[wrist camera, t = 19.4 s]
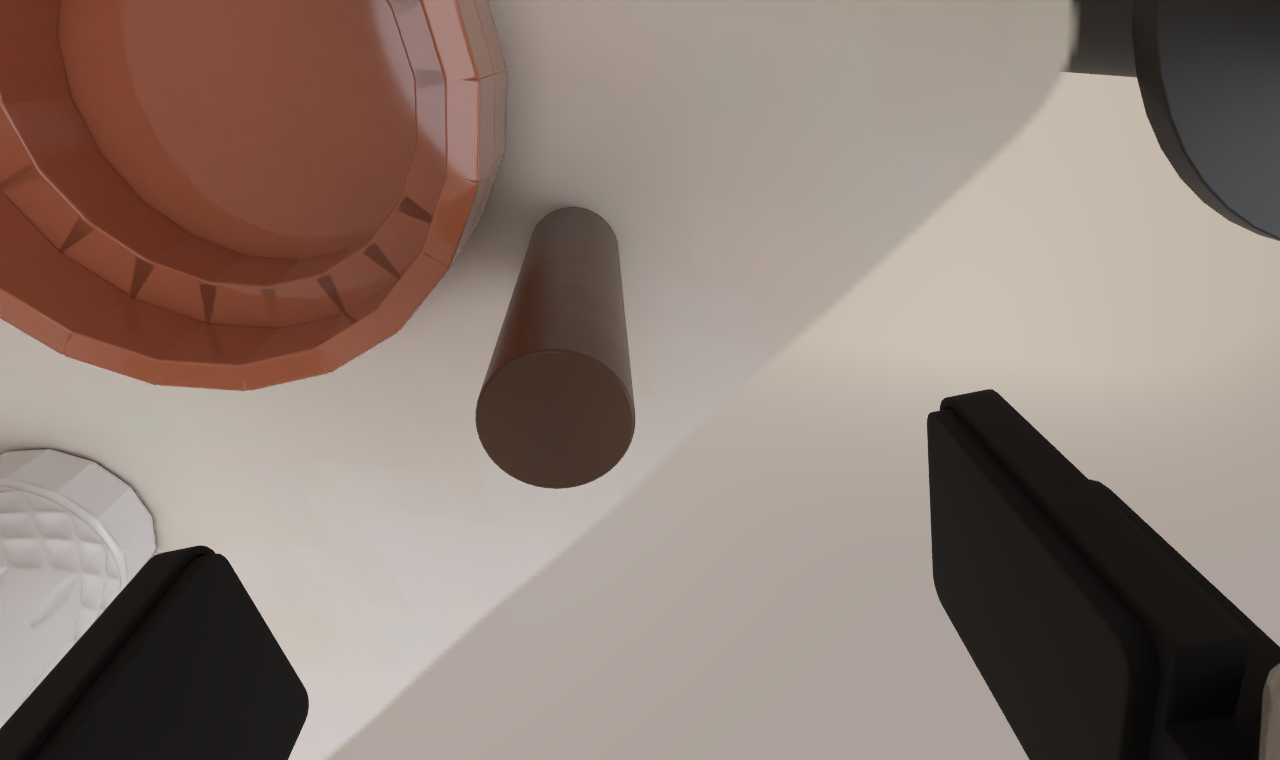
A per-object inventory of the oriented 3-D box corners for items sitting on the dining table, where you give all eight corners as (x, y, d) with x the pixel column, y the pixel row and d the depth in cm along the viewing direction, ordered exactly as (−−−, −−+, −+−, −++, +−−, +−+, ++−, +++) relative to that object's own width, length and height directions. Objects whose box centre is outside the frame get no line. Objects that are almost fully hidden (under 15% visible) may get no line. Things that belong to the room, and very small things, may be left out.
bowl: (412, -288, 18) (333, -427, 13) (561, 261, 24) (551, 324, 19) (-127, -147, 19) (-421, -222, 13) (155, 352, 25) (33, 439, 20)
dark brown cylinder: (606, 197, 24) (615, 334, 13) (627, 282, 25) (650, 472, 14) (518, 217, 24) (452, 369, 13) (542, 301, 25) (502, 503, 14)
